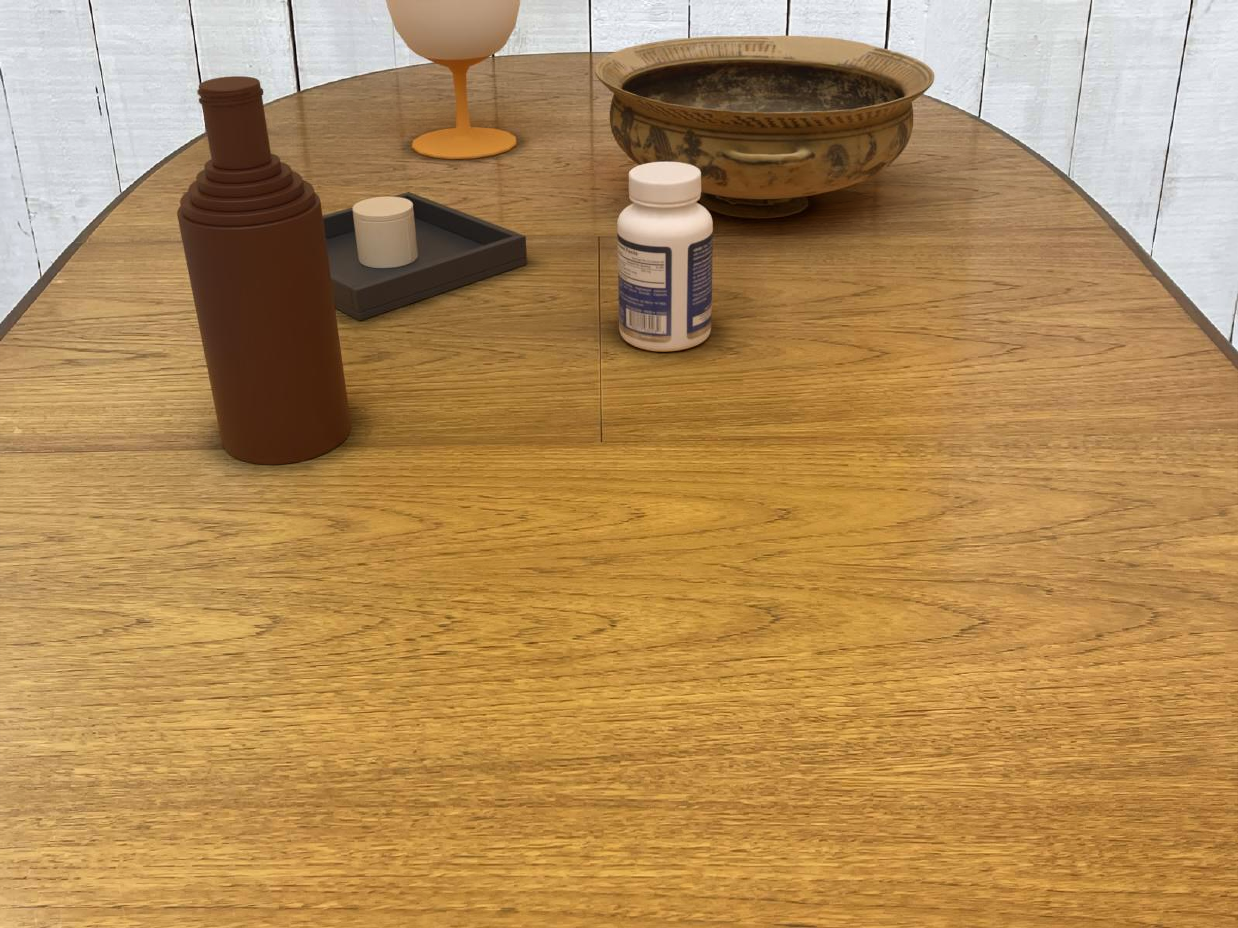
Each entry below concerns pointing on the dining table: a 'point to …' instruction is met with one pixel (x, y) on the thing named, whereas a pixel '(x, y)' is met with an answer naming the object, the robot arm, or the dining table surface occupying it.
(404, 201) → the cap
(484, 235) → the tray
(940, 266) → the dining table surface
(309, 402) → the sauce bottle
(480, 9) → the cup
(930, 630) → the dining table surface
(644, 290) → the pill bottle
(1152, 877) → the dining table surface
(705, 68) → the ceramic bowl
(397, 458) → the dining table surface
